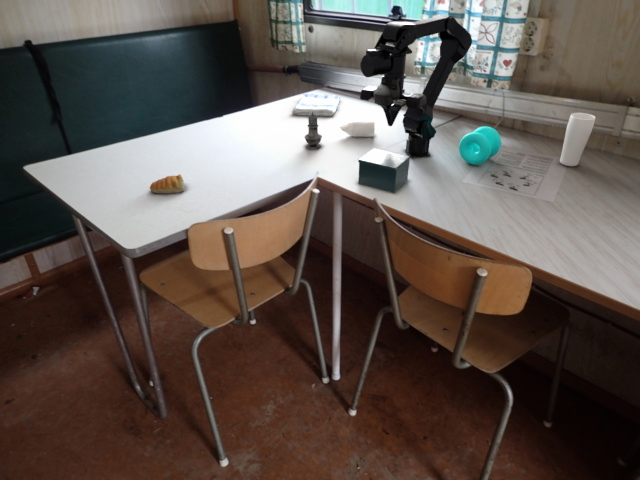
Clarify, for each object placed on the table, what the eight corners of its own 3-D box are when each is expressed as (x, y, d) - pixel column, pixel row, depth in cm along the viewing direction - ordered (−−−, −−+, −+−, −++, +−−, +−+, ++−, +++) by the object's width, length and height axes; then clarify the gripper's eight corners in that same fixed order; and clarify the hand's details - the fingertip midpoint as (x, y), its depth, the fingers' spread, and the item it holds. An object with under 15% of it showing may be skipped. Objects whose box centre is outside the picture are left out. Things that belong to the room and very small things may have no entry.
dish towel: (291, 115, 185) (291, 108, 183) (302, 98, 204) (302, 92, 203) (333, 117, 182) (333, 110, 181) (341, 99, 202) (341, 93, 200)
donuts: (455, 161, 145) (459, 130, 139) (470, 151, 151) (475, 122, 145) (484, 169, 139) (490, 138, 133) (499, 159, 145) (505, 129, 140)
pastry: (151, 197, 126) (148, 184, 124) (150, 187, 132) (147, 175, 130) (186, 192, 129) (183, 179, 127) (184, 182, 134) (181, 170, 132)
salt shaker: (320, 150, 153) (319, 115, 147) (303, 149, 154) (301, 114, 148) (323, 144, 158) (323, 109, 152) (306, 143, 159) (305, 108, 153)
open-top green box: (394, 193, 127) (396, 170, 123) (358, 183, 132) (359, 161, 128) (407, 181, 133) (409, 159, 129) (372, 172, 138) (373, 151, 134)
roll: (339, 133, 167) (339, 118, 164) (372, 133, 167) (373, 117, 164) (340, 139, 162) (340, 123, 159) (374, 139, 162) (374, 123, 159)
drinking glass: (580, 161, 143) (595, 114, 135) (580, 169, 138) (596, 120, 130) (556, 157, 146) (570, 111, 138) (556, 166, 141) (570, 117, 132)
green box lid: (395, 171, 123) (395, 168, 122) (358, 162, 128) (358, 159, 127) (409, 158, 129) (410, 156, 129) (373, 151, 134) (373, 148, 134)
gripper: (351, 73, 128) (350, 128, 136) (414, 82, 119) (408, 139, 128) (370, 66, 136) (367, 117, 144) (429, 73, 127) (423, 128, 135)
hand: (390, 125), depth 138 cm, fingers closed
